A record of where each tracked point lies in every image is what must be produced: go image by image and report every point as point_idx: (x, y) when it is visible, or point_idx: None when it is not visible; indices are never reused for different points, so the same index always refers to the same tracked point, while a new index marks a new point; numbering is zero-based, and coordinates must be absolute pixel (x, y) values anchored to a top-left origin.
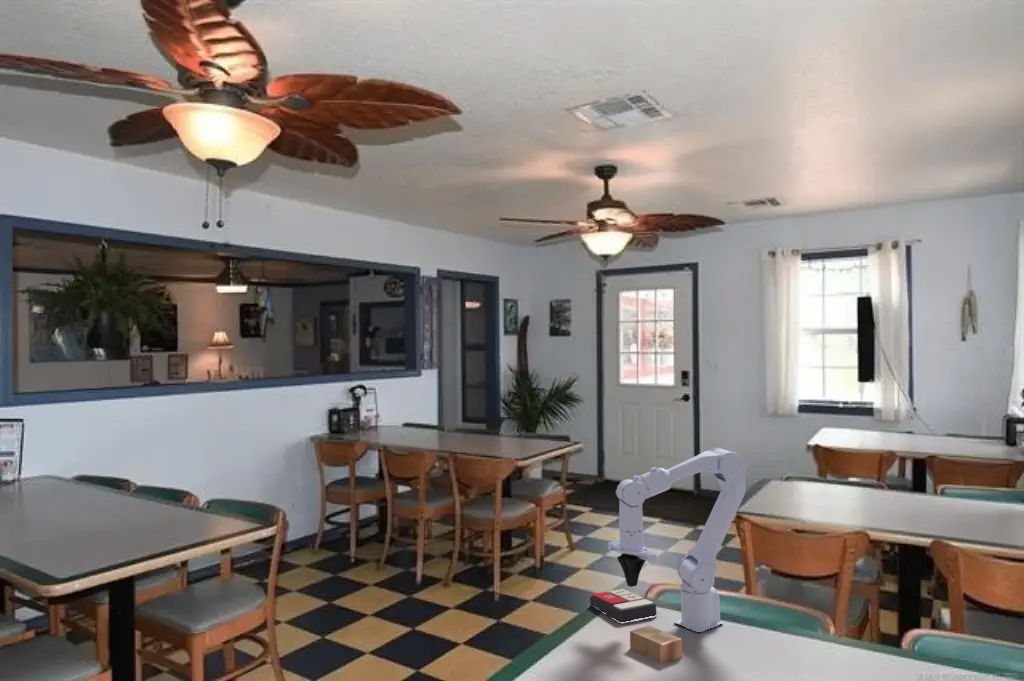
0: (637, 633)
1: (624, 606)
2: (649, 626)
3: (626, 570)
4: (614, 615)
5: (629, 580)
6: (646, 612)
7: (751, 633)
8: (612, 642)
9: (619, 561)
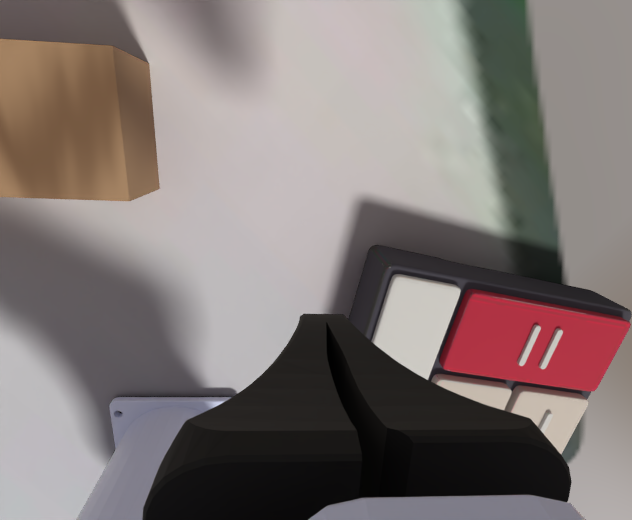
0: (59, 52)
1: (405, 310)
2: (110, 191)
3: (350, 373)
4: (427, 261)
5: (309, 329)
6: None
7: (23, 517)
8: (253, 52)
9: (479, 408)
